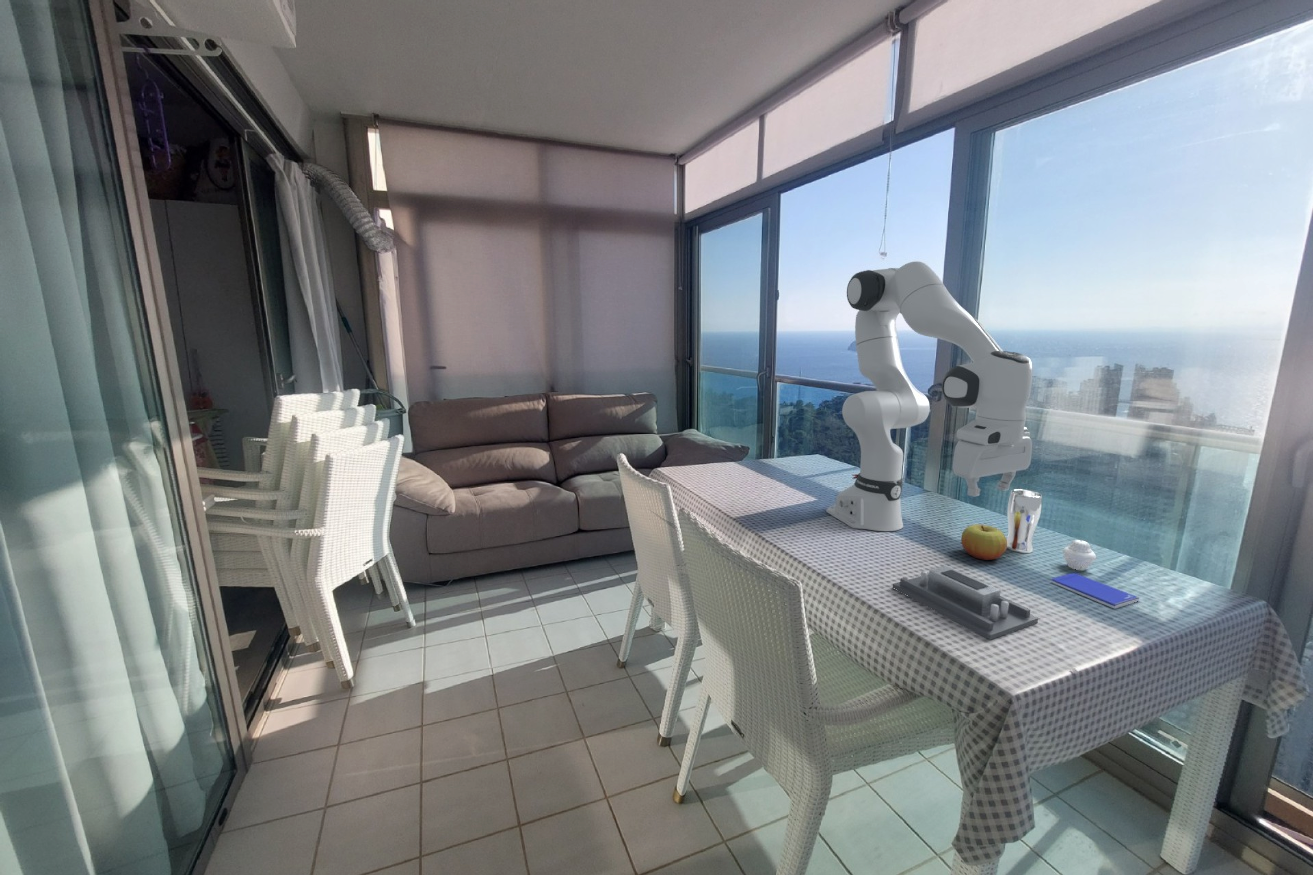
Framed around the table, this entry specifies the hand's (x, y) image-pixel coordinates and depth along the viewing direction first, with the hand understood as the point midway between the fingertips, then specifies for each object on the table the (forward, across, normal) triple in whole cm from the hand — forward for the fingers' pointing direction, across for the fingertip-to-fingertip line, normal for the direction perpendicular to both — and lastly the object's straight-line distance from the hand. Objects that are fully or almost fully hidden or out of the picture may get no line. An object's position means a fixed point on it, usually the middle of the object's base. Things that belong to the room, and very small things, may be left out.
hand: (988, 492), depth 115 cm
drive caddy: (+20, +12, +6) cm, 24 cm away
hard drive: (+22, -20, +13) cm, 32 cm away
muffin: (+21, -29, +5) cm, 36 cm away
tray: (+21, +12, +6) cm, 25 cm away
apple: (+22, -15, -9) cm, 28 cm away
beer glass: (+22, -28, -8) cm, 36 cm away
